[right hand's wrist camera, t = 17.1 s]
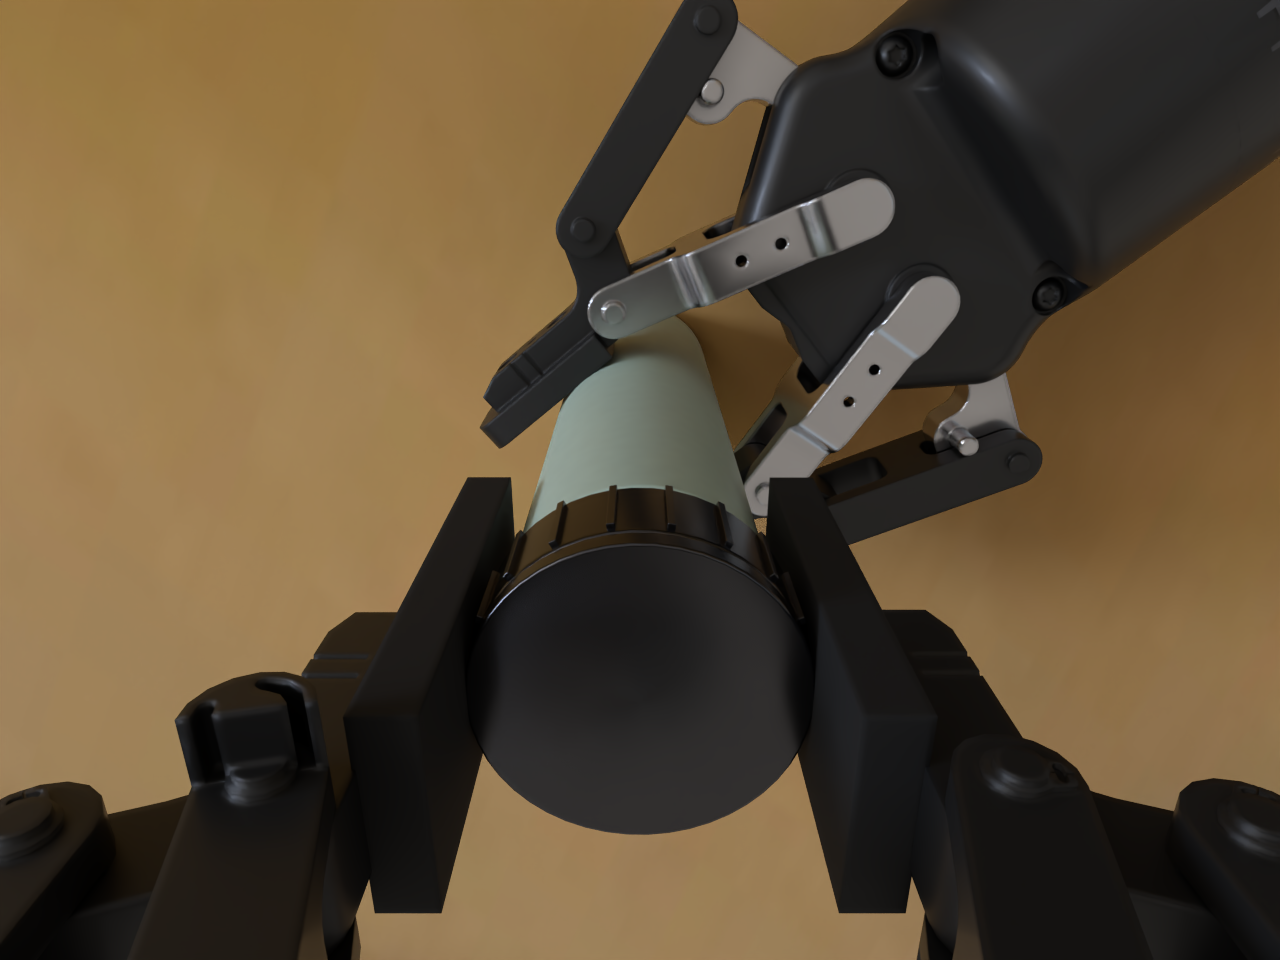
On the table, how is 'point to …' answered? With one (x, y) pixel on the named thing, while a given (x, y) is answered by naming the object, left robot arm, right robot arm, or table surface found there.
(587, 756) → the lid
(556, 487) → the bottle
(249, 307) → the table surface
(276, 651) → the table surface
